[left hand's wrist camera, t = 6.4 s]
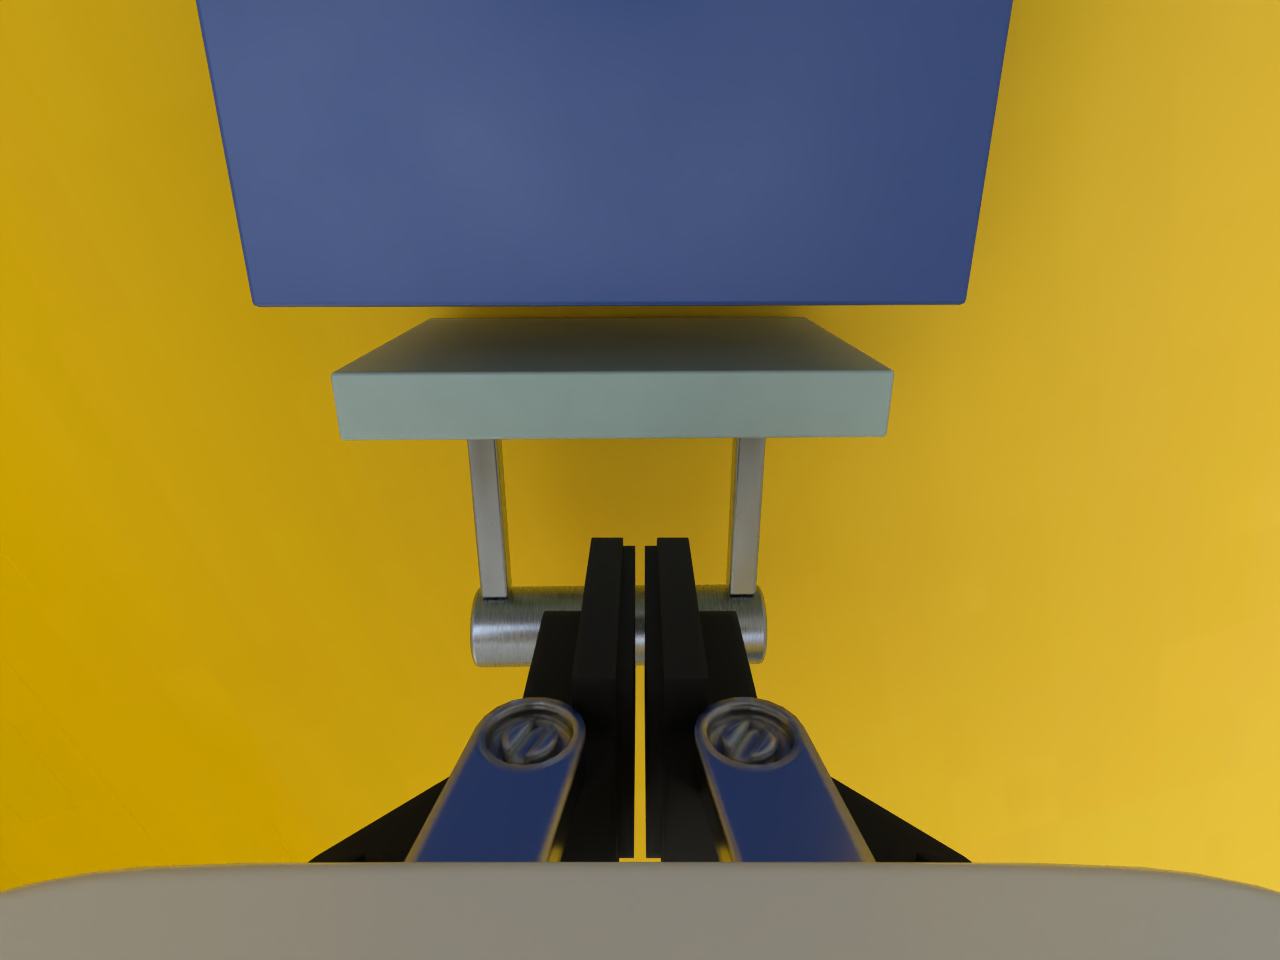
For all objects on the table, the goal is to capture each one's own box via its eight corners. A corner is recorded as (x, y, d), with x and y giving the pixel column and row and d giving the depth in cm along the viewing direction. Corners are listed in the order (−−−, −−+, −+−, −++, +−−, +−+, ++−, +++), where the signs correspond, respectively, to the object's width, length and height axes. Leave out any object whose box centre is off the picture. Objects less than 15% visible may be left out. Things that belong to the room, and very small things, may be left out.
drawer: (785, 572, 21) (851, 721, 15) (455, 575, 21) (384, 728, 15) (853, -269, 14) (1023, -627, 8) (367, -273, 14) (169, -641, 8)
